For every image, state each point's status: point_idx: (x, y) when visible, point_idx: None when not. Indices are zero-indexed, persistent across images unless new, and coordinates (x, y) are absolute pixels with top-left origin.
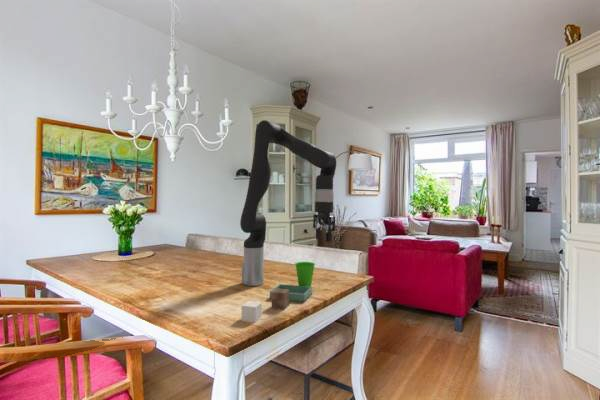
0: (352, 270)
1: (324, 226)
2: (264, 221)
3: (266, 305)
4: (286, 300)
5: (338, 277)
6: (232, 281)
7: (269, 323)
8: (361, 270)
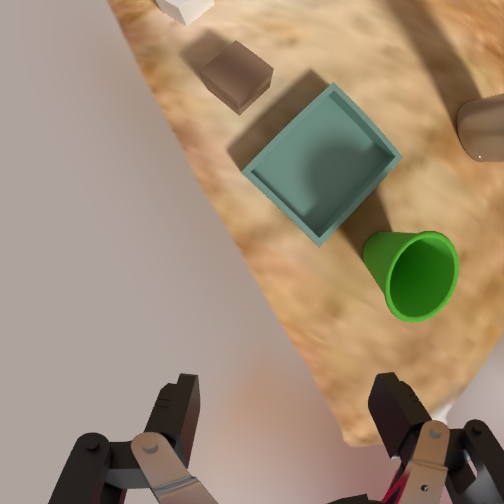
0: None
1: (169, 488)
2: None
3: (269, 58)
4: (218, 93)
5: None
6: None
7: (139, 36)
8: None
